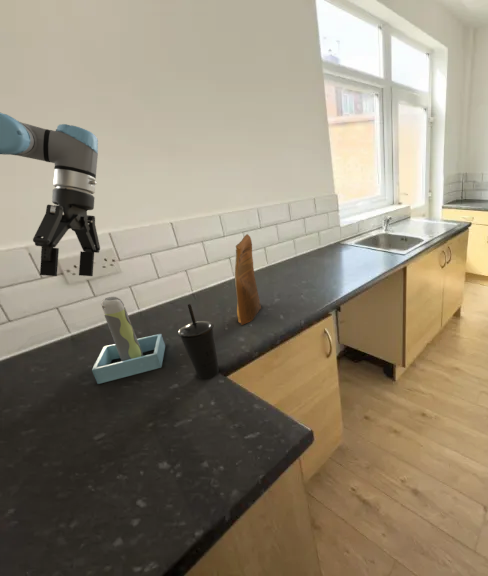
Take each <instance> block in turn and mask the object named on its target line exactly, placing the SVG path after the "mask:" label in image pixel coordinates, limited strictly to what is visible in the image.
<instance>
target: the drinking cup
mask: <svg viewBox="0 0 488 576" xmlns="http://www.w3.org/2000/svg"><path fill="white" fill-rule="evenodd" d="M187 307H188V311H189V316H190V319H191V322H189V323H188V324H186V325H184V326H182V327H181V328H179V329H178V331H177V335H178V336H179V337H180V339H181V341H182V343H183V346H184V347H185V350H186V352H187V355H188V358H189V360H190V361H191V364H192V366H193V368H194V370H195V373H196V375H197V377H198V379H200V380H208V379H211V378H214V377H215V376H216V375H218V374H219V372H220V371H219V370H220V368H219V363H218V356H217V349H216V341H215V335H214V323H213V322H212V321H208V320H198V321H196V318H195V315H194V310H193V307H192V304H191V303H189V304H187Z"/></svg>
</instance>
